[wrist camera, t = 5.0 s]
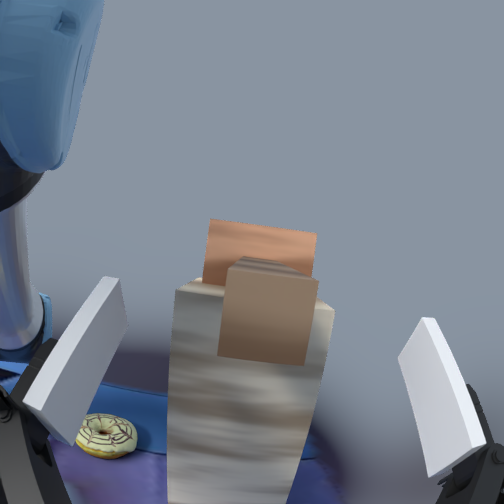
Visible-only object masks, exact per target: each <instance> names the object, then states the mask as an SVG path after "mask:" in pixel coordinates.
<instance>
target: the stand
mask: <svg viewBox="0 0 504 504" xmlns="http://www.w3.org/2000/svg"><path fill="white" fill-rule="evenodd" d="M224 294H225V286H219V285H212V284H205V283H202V278H197V279H195V280H193V281H191V282H189V283H188V284H186V285H184V286H182V287H180V288H178V289H176V291H175V301H174V312H173V323H172V336H171V349H170V365H169V384H168V410H167V487H168V504H286V501H287V498H288V495H289V492H290V489H291V486H292V483H293V480H294V477H295V474H296V471H297V468H298V465H299V462H300V458H301V455H302V452H303V448H304V445H305V441H306V438H307V434H308V431H309V427H310V424H311V420H312V416H313V412H314V408H315V404H316V400H317V396H318V392H319V388H320V384H321V379H322V375H323V371H324V366H325V361H326V357H327V352H328V346H329V342H330V336H331V331H332V326H333V321H334V315H335V310H333V309H332V308H331V307H330V306H328V305H326V304H325V303H324V302H323V301H321V300H320V299H319V298H317V297H316V303H315V309H314V315H313V321H312V327H311V332H310V338H309V343H308V348H307V354H306V359H305V364H304V366H297V365H285V364H275V363H266V362H257V361H249V360H241V359H233V358H226V357H220V356H217V352H218V343H219V335H220V326H221V318H222V310H223V302H224Z"/></svg>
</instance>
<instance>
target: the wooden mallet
mask: <svg viewBox="0 0 504 504" xmlns="http://www.w3.org/2000/svg"><path fill="white" fill-rule="evenodd" d="M316 238H317V233H311V232H304V231H297V230H290V229H283V228H276V227H268V226H262V225H254V224H247V223H239V222H231V221H223V220H216V219H210V225H209V232H208V239H207V247H206V254H205V262H204V270H203V278H202V283H205V284H212V285H219V286H225V294H224V302H223V310H222V318H221V326H220V335H219V343H218V352H217V356H220V357H226V358H233V359H241V360H249V361H257V362H266V363H275V364H285V365H297V366H304V364H305V359H306V354H307V348H308V343H309V338H310V332H311V327H312V321H313V315H314V309H315V303H316V297H317V290H318V283H319V281H318V280H316V279H314V278H312V277H311V275H312V268H313V261H314V254H315V245H316Z"/></svg>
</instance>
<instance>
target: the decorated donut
mask: <svg viewBox="0 0 504 504" xmlns="http://www.w3.org/2000/svg"><path fill="white" fill-rule="evenodd" d="M137 439H138V438H137V431H136V429H135V427H134V426H133V424H132V423H131V422H129V421H128V420H125V419H123V418H120V417H118V416H114V415H111V414H101V413H96V414H89V415H86V416H85V418H84V421H83V423H82V425H81V428H80V430H79V433H78V435H77V437H76V440H75V441H76V443H77V445H79V447H80V448H82V449H83V450H84V451H85V452H87V453H88V454H90V455H92V456H95V457H99V458H104V459H115V458H118V457H121V456H123V455H125V454H127V453H129V452H132V451H134V450H135V448H136V444H137Z"/></svg>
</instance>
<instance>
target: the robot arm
mask: <svg viewBox="0 0 504 504" xmlns="http://www.w3.org/2000/svg"><path fill="white" fill-rule="evenodd" d="M103 6H104V0H0V361H6V362H16V363H27V364H29V366H27V367H26V369H25V370H24V372H23V374H22V375H21V377H20V379H19V380H18V382H17V384H16V385H15V387H14V389H13V390H12V392H11V394H10V395H9V394H8V393H7V392H6V390H5V389H4V388H3V387H2V386H1V385H0V504H72V503H71V500H70V498H69V496H68V493H67V491H66V488H65V486H64V483H63V481H62V478H61V475H60V473H59V470H58V467H57V464H56V461H55V458H54V455H53V452H52V449H51V446H50V442H49V441H48V439H47V438H48V436H49V433H50V434H51V435H52V436H53V437H54V438H55V439H56V440H59V441H61V442H63V443H65V444H67V445H69V446H72V447H73V445H74V442H75V440H76V437H77V435H78V433H79V430H80V428H81V425H82V423H83V421H84V418H85V416H86V414H87V411H88V409H89V407H90V405H91V402H92V400H93V398H94V396H95V393H96V391H97V389H98V387H99V385H100V383H101V380H102V378H103V376H104V374H105V372H106V370H107V368H108V365H109V364H110V361H111V359H112V357H113V355H114V353H115V351H116V349H117V347H118V345H119V343H120V341H121V339H122V337H123V335H124V333H125V331H126V330H127V328H128V321H127V316H126V311H125V306H124V301H123V296H122V291H121V284H120V279H118V278H113V277H107V276H104V277H103V278H102V280H101V281H100V282H99V283H98V285H97V286H96V288H95V289H94V290H93V292H92V293H91V294H90V296H89V297H88V298H87V300H86V301H85V303H84V304H83V306H82V307H81V309H80V310H79V311H78V313H77V314H76V316H75V317H74V319H73V320H72V321H71V323H70V324H69V326H68V327H67V329H66V330H65V332H64V333H63V335H62V336H61V338H60V339H59V341H58V340H56V339H53V338H52V304H51V300H50V297H49V296H48V295H45V294H42V293H39V292H37V290H36V288H35V287H34V286H33V285H32V284H31V282H30V276H29V264H28V247H27V197H28V196H29V195H30V194H31V193H32V192H33V191H34V189H35V188H36V187H37V185H38V184H39V183H40V181H41V179H42V178H43V176H44V173H45V171H47V170H55V169H57V168H59V167H60V166H61V165H62V164H63V163H64V161H65V159H66V157H67V153H68V151H69V148H70V145H71V141H72V136H73V132H74V129H75V125H76V121H77V117H78V112H79V106H80V102H81V97H82V92H83V89H84V86H85V83H86V79H87V75H88V71H89V67H90V63H91V59H92V55H93V51H94V47H95V43H96V39H97V35H98V31H99V27H100V23H101V18H102V13H103ZM398 361H399V364H400V367H401V370H402V374H403V377H404V380H405V384H406V387H407V390H408V394H409V397H410V401H411V404H412V408H413V412H414V415H415V420H416V423H417V427H418V432H419V436H420V440H421V444H422V448H423V453H424V458H425V462H426V468H427V473H428V477H429V478H430V477H434V476H437V475H441V474H444V473H445V472H447V471H448V470H450V469H451V468H452V471H453V473H451V474H450V475H448V476H446V477H445V478H443V479H441V480H440V481H439V483H438V485H440V484H442V483H444V482H445V481H446V483H445V484H444V485H442V487H443V490H442V492H441V494H440V496H439V498H438V500H437V502H436V504H504V490H503V489H504V446H502V445H501V444H498V443H496V444H495V443H494V440H493V438H492V435H491V432H490V429H489V426H488V423H487V420H486V418H485V415H484V413H483V409H482V407H481V405H480V402H479V399H478V397H477V394H476V392H475V391H474V390H473V388H472V387H471V386H470V385H469V384H466V385H465V382H464V380H463V378H462V375H461V373H460V371H459V368H458V366H457V364H456V362H455V359H454V357H453V355H452V353H451V351H450V348H449V346H448V345H447V342H446V340H445V338H444V336H443V334H442V332H441V330H440V328H439V326H438V324H437V322H436V320H435V318H423V317H422V318H421V320H420V322H419V324H418V325H417V327H416V329H415V330H414V332H413V334H412V335H411V337H410V339H409V340H408V342H407V344H406V346H405V347H404V348H403V350H402V352H401V353H400V355H399V357H398Z"/></svg>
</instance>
